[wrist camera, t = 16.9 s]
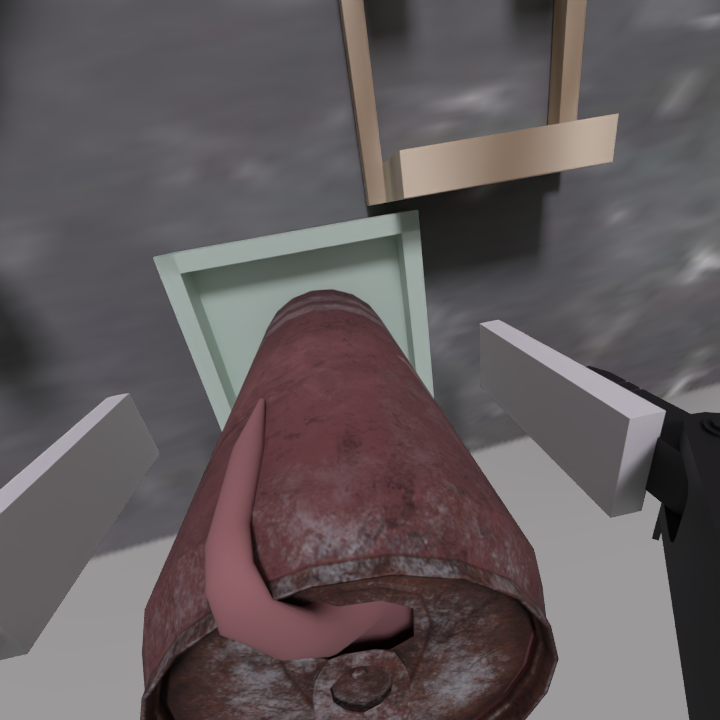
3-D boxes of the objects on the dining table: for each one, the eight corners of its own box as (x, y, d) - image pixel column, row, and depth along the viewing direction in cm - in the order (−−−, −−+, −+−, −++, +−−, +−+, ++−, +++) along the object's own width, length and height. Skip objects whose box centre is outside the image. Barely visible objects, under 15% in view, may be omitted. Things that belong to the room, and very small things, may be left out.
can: (331, 255, 15) (413, 433, 3) (407, 353, 18) (647, 695, 5) (235, 336, 16) (-56, 762, 4) (320, 418, 19) (332, 851, 6)
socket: (366, 206, 16) (382, 202, 12) (317, -148, 11) (318, -322, 8) (560, 171, 16) (632, 157, 13) (586, -180, 12) (707, -360, 8)
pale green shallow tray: (244, 443, 20) (236, 468, 18) (173, 252, 15) (152, 257, 13) (424, 405, 20) (436, 426, 18) (405, 210, 16) (418, 209, 14)
